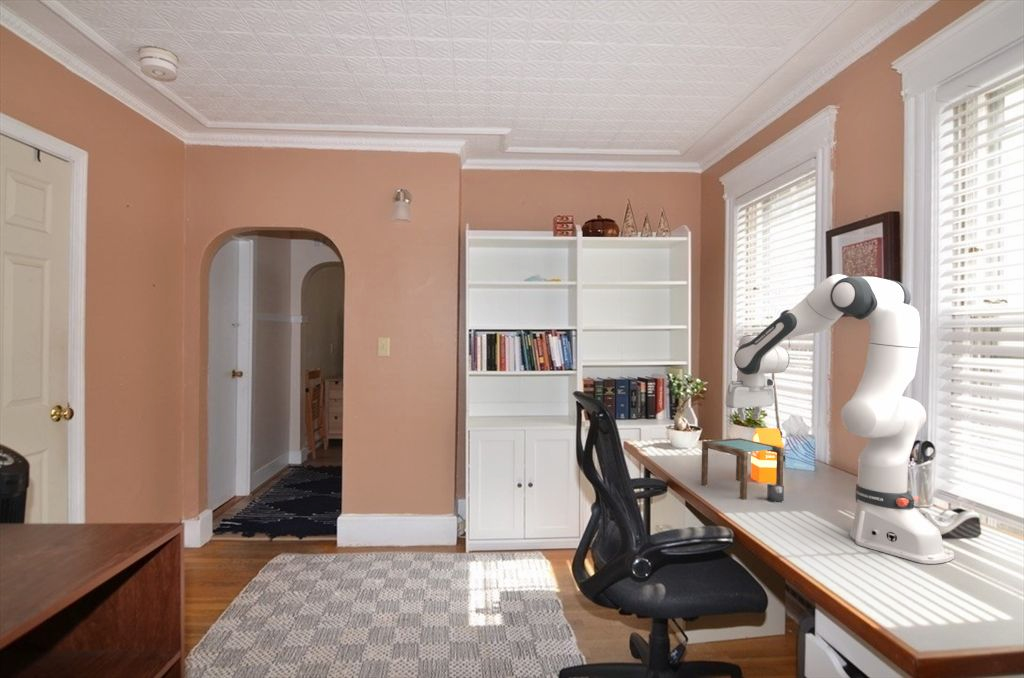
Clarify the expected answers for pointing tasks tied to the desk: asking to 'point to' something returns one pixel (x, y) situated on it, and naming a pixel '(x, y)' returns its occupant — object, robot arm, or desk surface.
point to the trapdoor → (744, 445)
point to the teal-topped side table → (739, 462)
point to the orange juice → (765, 455)
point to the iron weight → (775, 492)
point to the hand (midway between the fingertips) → (749, 419)
